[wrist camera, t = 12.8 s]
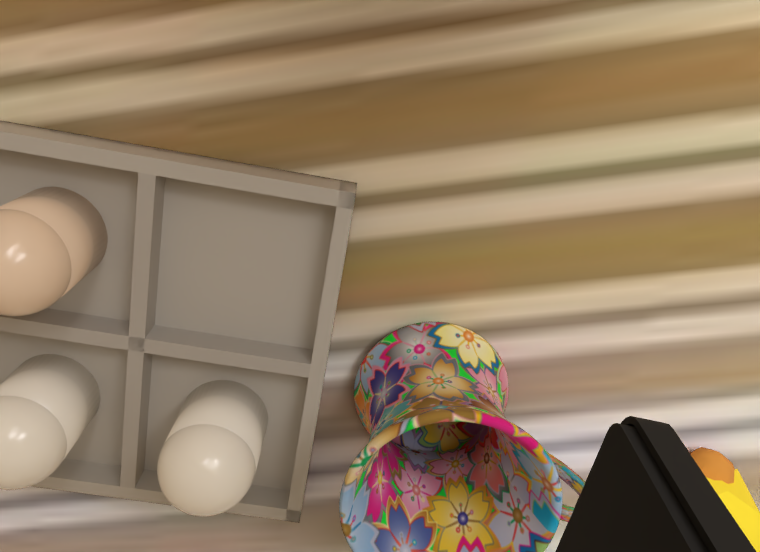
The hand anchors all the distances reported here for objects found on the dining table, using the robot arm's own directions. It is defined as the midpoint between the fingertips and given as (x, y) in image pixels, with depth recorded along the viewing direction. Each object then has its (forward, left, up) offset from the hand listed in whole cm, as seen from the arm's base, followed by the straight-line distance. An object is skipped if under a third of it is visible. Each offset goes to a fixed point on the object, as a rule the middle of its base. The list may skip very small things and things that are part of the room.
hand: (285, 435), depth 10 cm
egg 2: (+16, -4, -24) cm, 30 cm away
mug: (+12, +8, -25) cm, 29 cm away
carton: (+11, -9, -25) cm, 29 cm away
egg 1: (+7, -13, -24) cm, 29 cm away
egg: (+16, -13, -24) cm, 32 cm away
